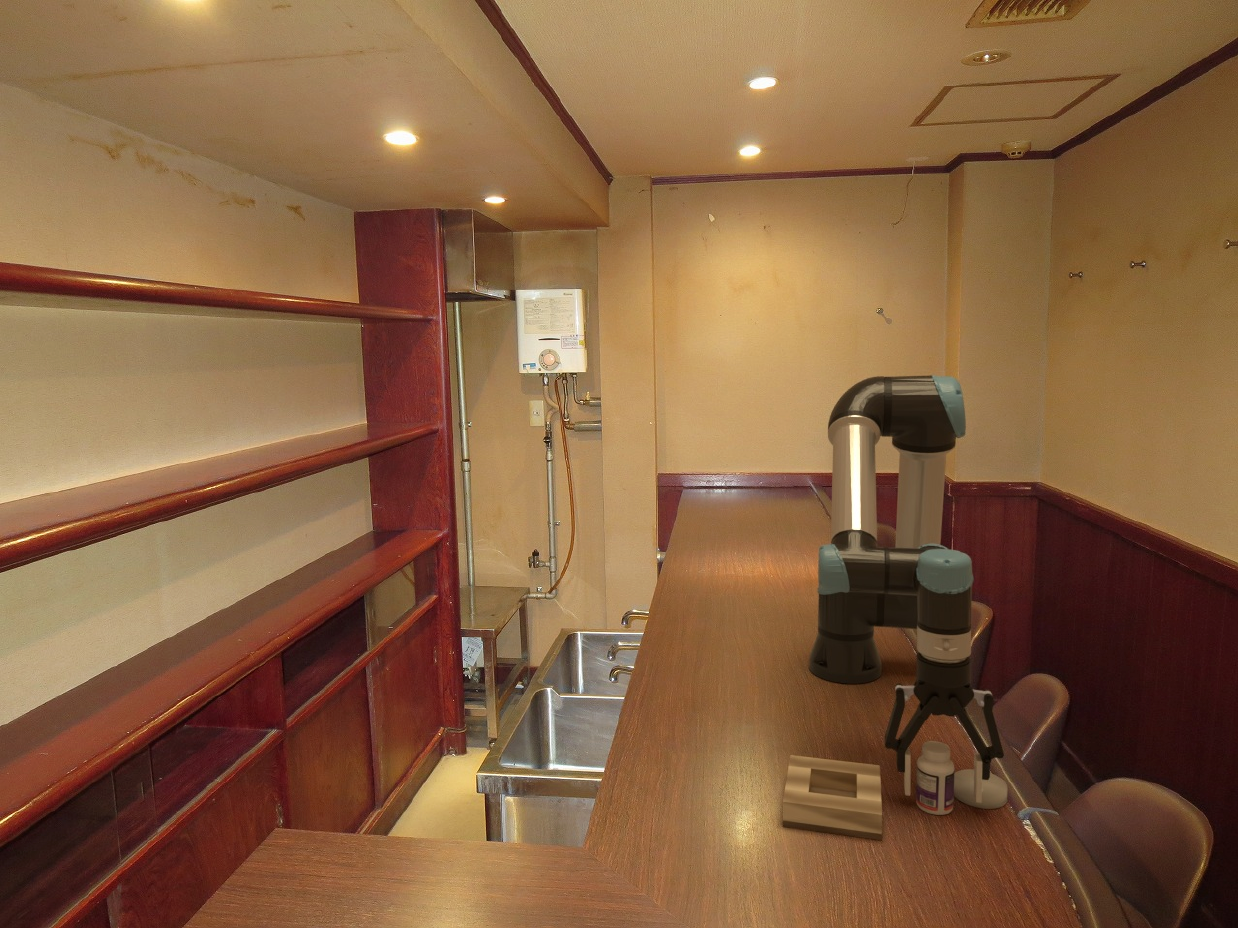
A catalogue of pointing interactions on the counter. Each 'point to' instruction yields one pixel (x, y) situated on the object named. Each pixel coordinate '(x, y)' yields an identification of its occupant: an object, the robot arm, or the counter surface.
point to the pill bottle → (935, 779)
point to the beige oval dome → (991, 790)
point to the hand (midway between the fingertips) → (941, 794)
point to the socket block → (833, 797)
